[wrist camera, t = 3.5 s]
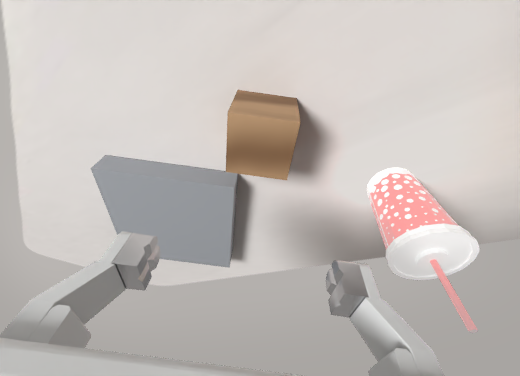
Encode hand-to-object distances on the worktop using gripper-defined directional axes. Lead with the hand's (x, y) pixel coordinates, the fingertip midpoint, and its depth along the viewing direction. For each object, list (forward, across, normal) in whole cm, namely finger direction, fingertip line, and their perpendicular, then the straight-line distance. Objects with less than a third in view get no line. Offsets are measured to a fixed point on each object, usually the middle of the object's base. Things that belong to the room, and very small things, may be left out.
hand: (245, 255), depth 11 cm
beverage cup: (+14, -14, +4) cm, 20 cm away
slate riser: (+14, +9, +12) cm, 21 cm away
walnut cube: (+14, 0, -1) cm, 14 cm away
